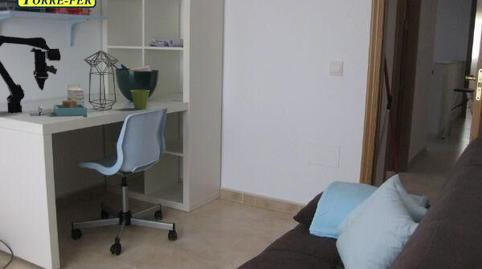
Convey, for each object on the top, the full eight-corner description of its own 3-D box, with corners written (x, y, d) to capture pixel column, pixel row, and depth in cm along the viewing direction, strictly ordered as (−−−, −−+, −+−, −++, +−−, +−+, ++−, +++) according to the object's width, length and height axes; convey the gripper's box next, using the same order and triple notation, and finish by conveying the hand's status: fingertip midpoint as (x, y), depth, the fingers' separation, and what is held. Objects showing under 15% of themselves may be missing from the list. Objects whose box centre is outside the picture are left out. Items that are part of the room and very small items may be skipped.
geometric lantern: (121, 109, 291) (120, 51, 284) (103, 112, 278) (102, 51, 270) (101, 106, 298) (100, 49, 291) (82, 109, 284) (81, 50, 277)
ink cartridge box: (72, 110, 280) (71, 84, 277) (67, 109, 283) (66, 84, 281) (85, 108, 287) (84, 84, 284) (80, 107, 290) (79, 83, 287)
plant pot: (143, 106, 305) (143, 89, 303) (153, 109, 296) (153, 91, 294) (126, 108, 297) (126, 89, 295) (136, 110, 288) (136, 91, 286)
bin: (57, 118, 250) (56, 108, 249) (53, 113, 263) (53, 104, 262) (86, 117, 257) (86, 107, 256) (82, 113, 270) (82, 104, 269)
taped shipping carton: (71, 114, 256) (70, 101, 255) (62, 113, 258) (62, 100, 257) (77, 113, 262) (77, 100, 260) (69, 112, 263) (68, 99, 262)
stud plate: (30, 118, 246) (30, 107, 246) (29, 115, 255) (29, 105, 254) (51, 117, 251) (51, 107, 250) (49, 114, 260) (49, 104, 259)
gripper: (58, 61, 256) (59, 90, 259) (53, 60, 272) (54, 87, 275) (35, 61, 251) (36, 91, 253) (32, 59, 267) (33, 87, 270)
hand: (41, 89), depth 263 cm, fingers open, 9 cm apart
